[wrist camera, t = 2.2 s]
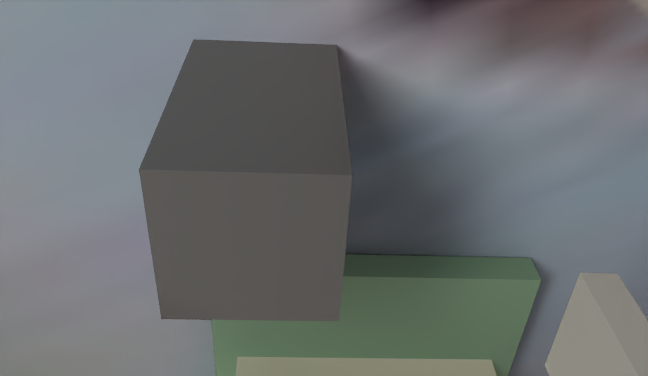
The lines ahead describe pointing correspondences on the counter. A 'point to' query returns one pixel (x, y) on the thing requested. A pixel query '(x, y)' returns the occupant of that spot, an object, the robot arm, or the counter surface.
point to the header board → (396, 322)
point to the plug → (250, 184)
